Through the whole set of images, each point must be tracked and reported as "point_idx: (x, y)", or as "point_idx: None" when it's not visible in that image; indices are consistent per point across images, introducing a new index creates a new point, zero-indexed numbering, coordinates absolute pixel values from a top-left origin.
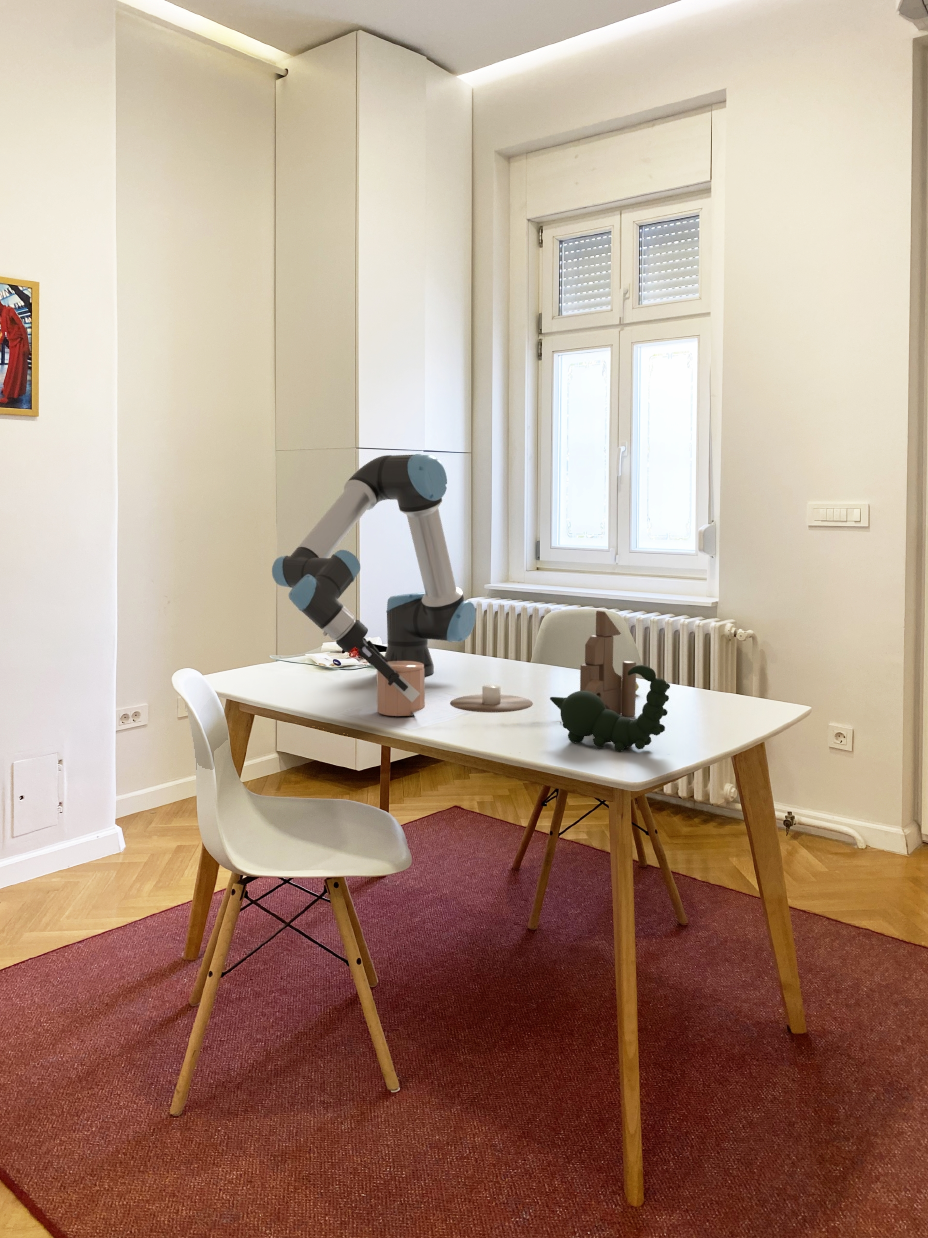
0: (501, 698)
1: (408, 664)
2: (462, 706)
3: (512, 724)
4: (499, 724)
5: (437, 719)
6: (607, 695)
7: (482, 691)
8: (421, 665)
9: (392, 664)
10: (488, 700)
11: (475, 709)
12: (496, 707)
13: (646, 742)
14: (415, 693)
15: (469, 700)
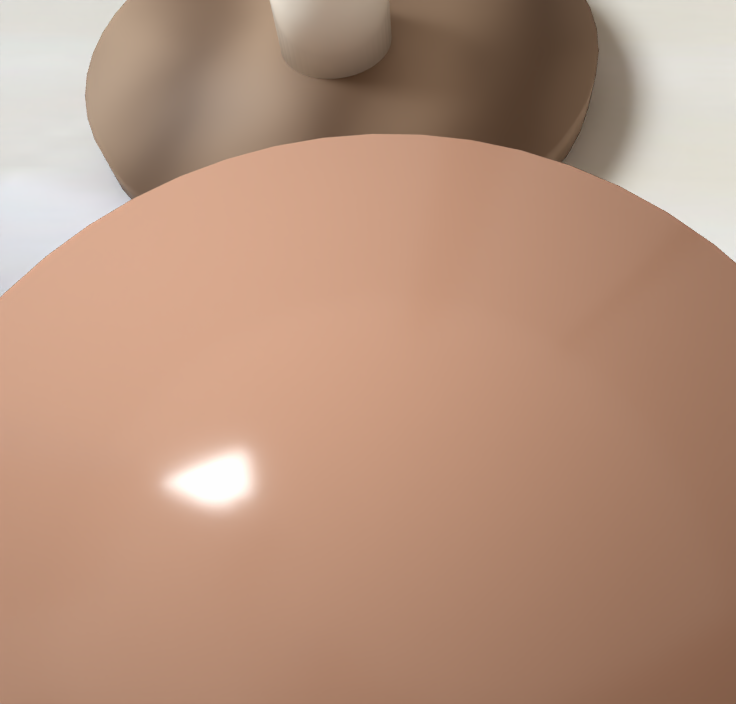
0: (227, 2)
1: (323, 347)
2: None
3: (716, 3)
4: (728, 48)
5: None
6: None
7: (327, 7)
8: (444, 158)
9: (260, 698)
10: (385, 28)
11: (519, 110)
12: (465, 22)
13: None
14: None
15: (244, 136)
